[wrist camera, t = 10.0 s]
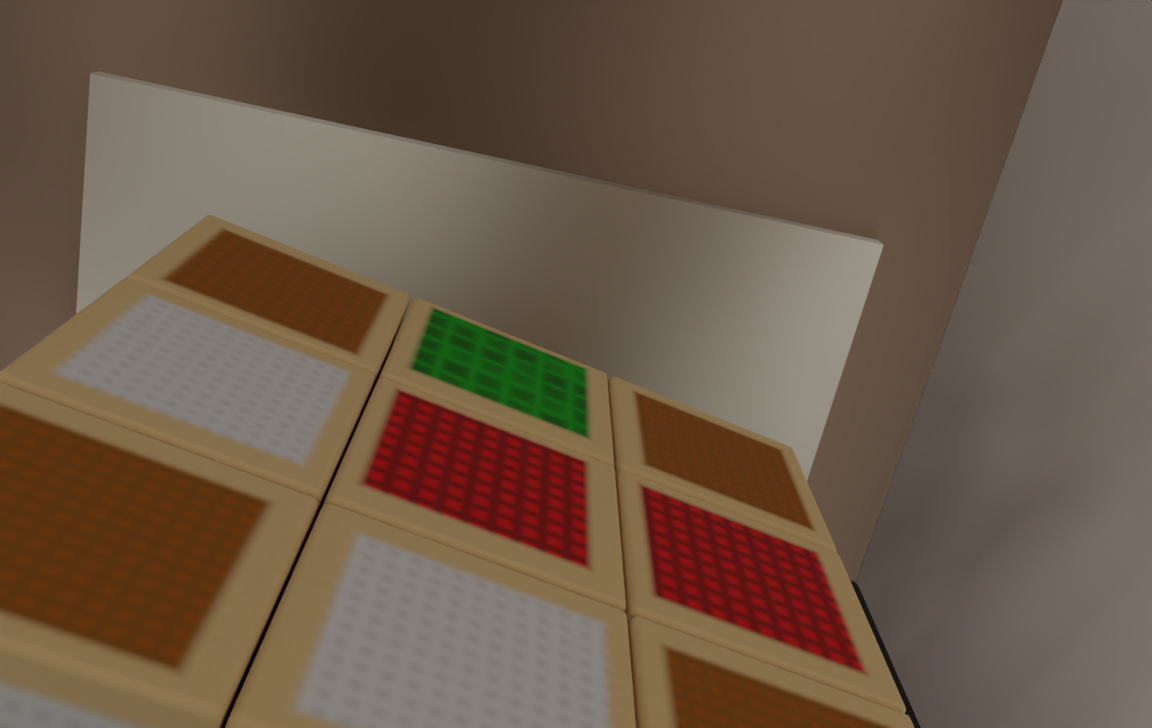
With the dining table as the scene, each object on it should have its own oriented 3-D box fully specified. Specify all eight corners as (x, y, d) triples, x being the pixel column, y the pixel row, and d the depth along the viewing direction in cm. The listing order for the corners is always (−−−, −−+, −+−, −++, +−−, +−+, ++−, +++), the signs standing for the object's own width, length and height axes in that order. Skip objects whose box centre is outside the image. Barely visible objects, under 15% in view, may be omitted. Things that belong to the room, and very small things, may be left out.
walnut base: (944, -44, 14) (1086, -40, 10) (678, 800, 19) (704, 1022, 15) (164, -228, 13) (-7, -302, 9) (94, 699, 18) (-38, 904, 14)
